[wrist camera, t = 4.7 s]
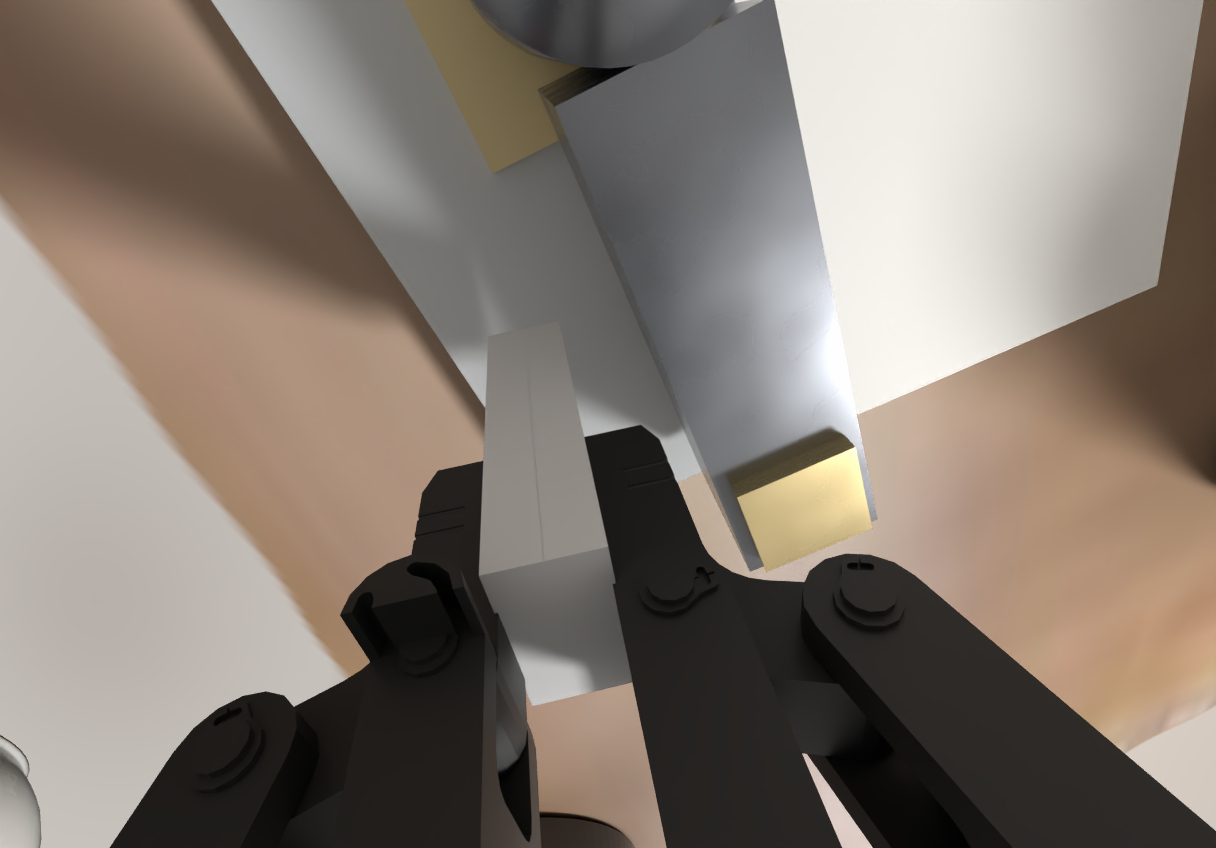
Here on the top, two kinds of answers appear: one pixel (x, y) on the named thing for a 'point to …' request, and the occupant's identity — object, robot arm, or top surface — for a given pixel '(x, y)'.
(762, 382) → the arm
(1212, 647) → the top surface
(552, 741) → the top surface
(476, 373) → the door board
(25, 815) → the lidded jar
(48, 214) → the top surface
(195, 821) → the robot arm
